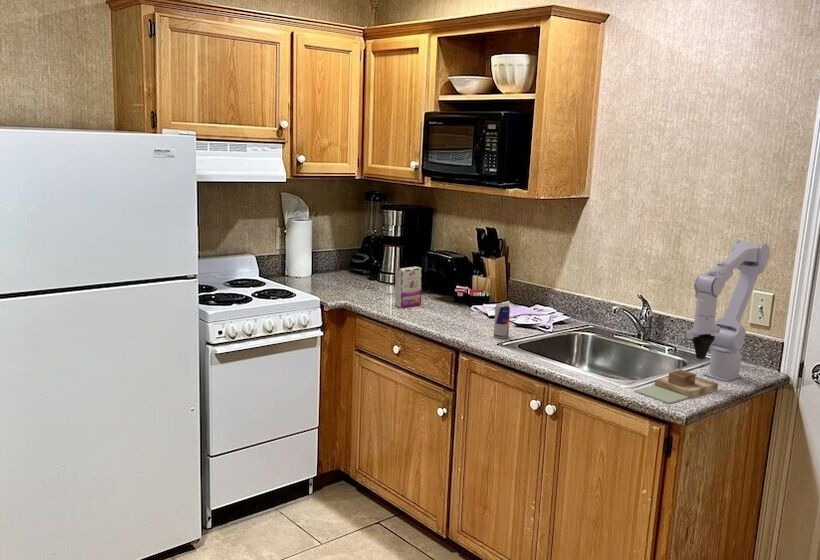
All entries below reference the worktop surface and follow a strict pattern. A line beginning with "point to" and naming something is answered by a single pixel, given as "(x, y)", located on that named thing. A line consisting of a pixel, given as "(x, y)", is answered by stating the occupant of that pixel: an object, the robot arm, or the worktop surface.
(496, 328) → the energy drink
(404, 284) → the candy bar box
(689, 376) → the walnut block
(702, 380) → the birch board
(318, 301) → the worktop surface
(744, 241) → the robot arm
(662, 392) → the sage mat
